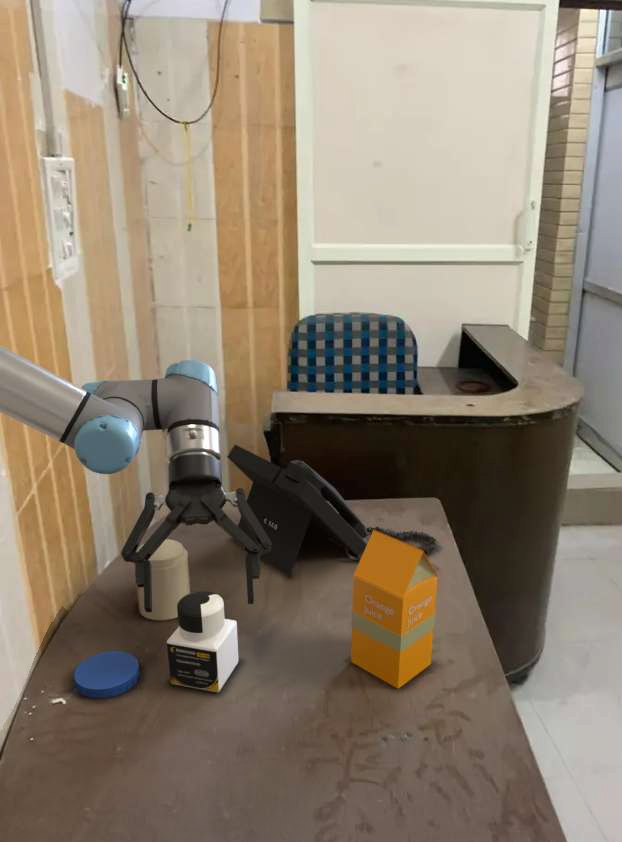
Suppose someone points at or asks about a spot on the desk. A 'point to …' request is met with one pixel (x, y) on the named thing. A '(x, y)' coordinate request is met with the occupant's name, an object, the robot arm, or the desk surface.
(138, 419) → the robot arm
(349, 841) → the desk surface
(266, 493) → the office phone
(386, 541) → the orange juice
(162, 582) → the jar
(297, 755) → the desk surface
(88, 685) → the jar lid
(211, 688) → the medicine bottle
